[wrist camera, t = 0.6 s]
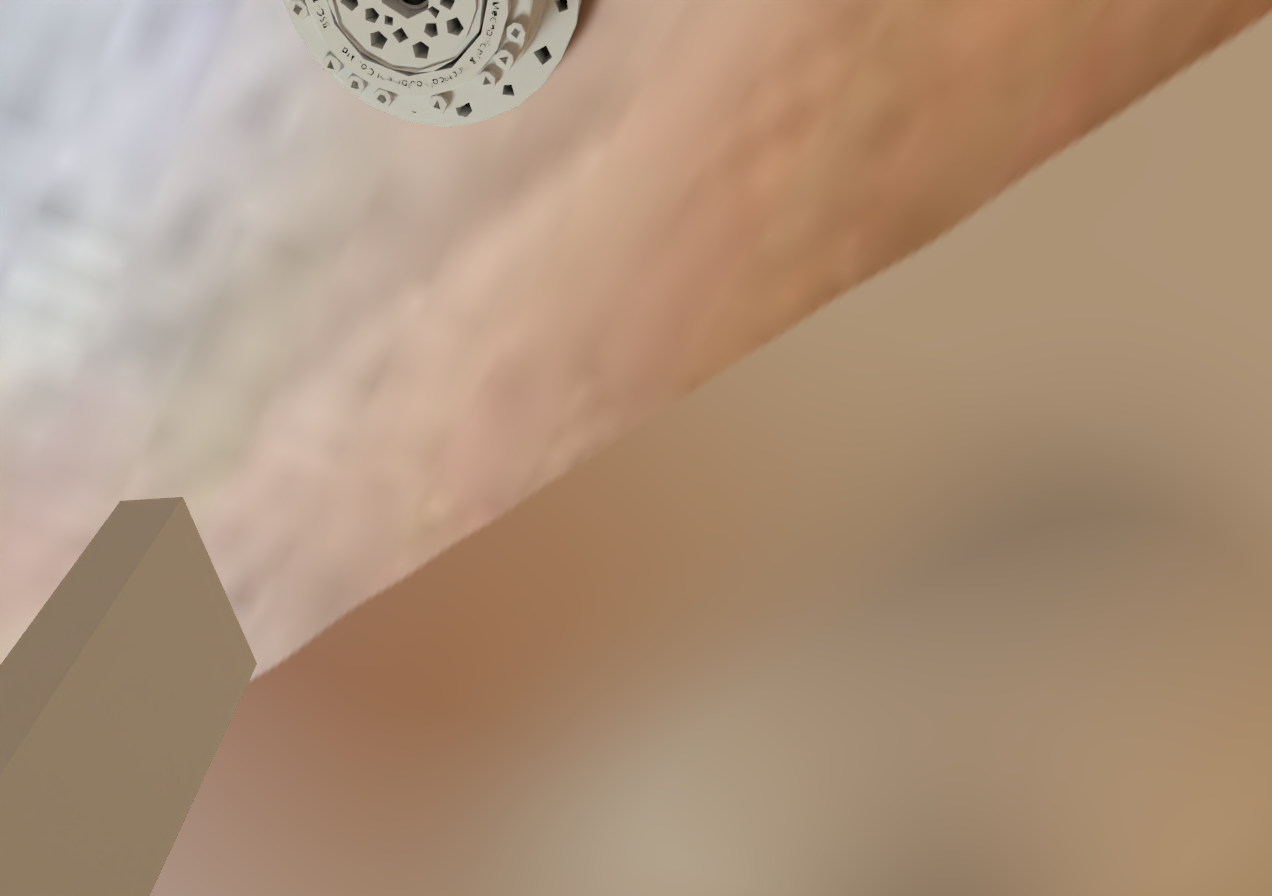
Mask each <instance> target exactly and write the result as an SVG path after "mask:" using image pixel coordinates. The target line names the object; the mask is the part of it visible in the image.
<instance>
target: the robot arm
mask: <svg viewBox="0 0 1272 896" xmlns="http://www.w3.org/2000/svg"><path fill="white" fill-rule="evenodd" d="M256 664H257V663H256V661H255V658H254V656H253V654H252V652H251V649H250V647H249V645H248V643H247V640H246V638H245V636H244V634H243V632H242V629H241V627H240V625H239V623H238V620H237V618H236V616H235V614H234V611H233V609H232V607H231V605H230V602H229V600H228V598H227V596H226V593H225V591H224V589H223V587H222V584H221V582H220V580H219V578H218V575H217V573H216V571H215V569H214V566H213V564H212V562H211V560H210V557H209V555H208V553H207V551H206V548H205V546H204V544H203V542H202V539H201V537H200V535H199V533H198V530H197V528H196V526H195V524H194V521H193V519H192V517H191V515H190V512H189V510H188V508H187V506H186V503H185V501H184V499H183V497H177V498H161V499H145V500H129V501H120V502H119V504H118V505H117V507H116V508H115V509H114V511H113V512H112V513H111V515H110V516H109V518H108V519H107V520H106V522H105V523H104V524H103V526H102V527H101V528H100V530H99V531H98V533H97V534H96V535H95V537H94V538H93V539H92V541H91V542H90V543H89V545H88V546H87V548H86V549H85V550H84V552H83V553H82V554H81V556H80V557H79V559H78V560H77V561H76V563H75V564H74V565H73V567H72V568H71V569H70V571H69V572H68V574H67V575H66V576H65V578H64V579H63V580H62V582H61V583H60V584H59V586H58V587H57V589H56V590H55V591H54V593H53V594H52V595H51V597H50V598H49V600H48V601H47V602H46V604H45V605H44V606H43V608H42V609H41V610H40V612H39V613H38V615H37V616H36V617H35V619H34V620H33V621H32V623H31V624H30V625H29V627H28V628H27V630H26V631H25V632H24V634H23V635H22V636H21V638H20V639H19V641H18V642H17V643H16V645H15V646H14V647H13V649H12V650H11V651H10V653H9V654H8V656H7V657H6V658H5V660H4V661H3V662H2V664H1V665H0V896H150V894H151V891H152V889H153V887H154V885H155V883H156V881H157V879H158V876H159V874H160V872H161V870H162V867H163V865H164V863H165V861H166V859H167V857H168V855H169V852H170V850H171V848H172V846H173V844H174V842H175V839H176V837H177V835H178V833H179V831H180V829H181V826H182V824H183V822H184V820H185V818H186V815H187V814H188V811H189V809H190V807H191V805H192V803H193V801H194V798H195V796H196V794H197V792H198V790H199V788H200V785H201V783H202V781H203V779H204V777H205V775H206V772H207V770H208V768H209V766H210V764H211V762H212V759H213V757H214V755H215V753H216V751H217V748H218V747H219V744H220V742H221V740H222V738H223V736H224V734H225V731H226V729H227V727H228V725H229V723H230V721H231V718H232V716H233V714H234V712H235V710H236V708H237V705H238V703H239V701H240V699H241V697H242V694H243V692H244V690H245V688H246V686H247V684H248V682H249V679H250V677H251V675H252V673H253V671H254V669H255V666H256Z"/></svg>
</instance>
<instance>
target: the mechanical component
mask: <svg viewBox="0 0 1272 896" xmlns="http://www.w3.org/2000/svg"><path fill="white" fill-rule="evenodd" d="M283 1H284V3H285V6H286V8H287V10H288V13H289V15H290V18H291V20H292V22H293V25H294V27H295V29H296V31H297V32H298V34H299V35H300V37H301V38H302V40H303V41H304V43H305V44H306V46H307V48H308V49H309V51H310V52H311V54H312V55H313V57H314V58H315V59H316V60H317V62H318V63H319V64H320V65H321V66H322V67H323V69H324V70H325V71H326V72H328V73H329V74H330V75H331V76H332V77H333V79H334V80H335V81H336V82H337V83H339V84H340V85H341V86H343V87H344V88H345V89H347V90H348V91H349V92H351V93H352V94H354V95H355V96H356V97H358V98H359V99H360V100H362V101H363V102H365V103H366V104H367V105H369V106H370V107H372V108H375V109H377V110H380V111H382V112H385V113H388V114H390V115H393V116H395V117H398V118H400V119H403V120H405V121H408V122H412V123H420V124H428V125H436V126H444V127H456V126H462V125H467V124H473V123H478V122H482V121H485V120H487V119H489V118H492V117H494V116H497V115H499V114H502V113H504V112H506V111H509V110H511V109H514V108H515V107H517V106H518V105H519V104H520V103H521V102H523V101H524V100H525V99H526V98H527V97H529V96H530V95H531V94H532V93H533V92H535V91H536V90H537V89H538V88H539V87H541V86H542V85H543V83H544V82H545V81H546V79H547V78H548V77H549V75H550V74H551V73H552V71H553V70H554V69H555V67H556V66H557V65H558V63H559V62H560V61H561V59H562V57H563V54H564V52H565V50H566V48H567V46H568V44H569V42H570V39H571V37H572V35H573V33H574V31H575V29H576V25H577V21H578V16H579V11H580V6H581V1H582V0H567V5H566V4H563V3H560V0H426V1H425V2H423V3H422V4H420V3H421V2H422V1H423V0H409V1H408V2H407V3H405V2H403V1H402V0H283ZM428 3H429V4H428ZM427 4H428V6H426V5H427ZM424 6H425V7H424ZM457 18H458V19H459V22H458V20H457ZM483 20H484V22H483ZM436 25H437V26H436ZM544 46H547V48H548V50H549V52H550V54H549V55H548V56H547V57H546V56H545V55H544V53H543V52H542V51H541V48H543V47H544ZM508 85H512V87H510V86H508ZM467 103H470V106H471V107H467V106H464V105H465V104H467Z"/></svg>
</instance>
